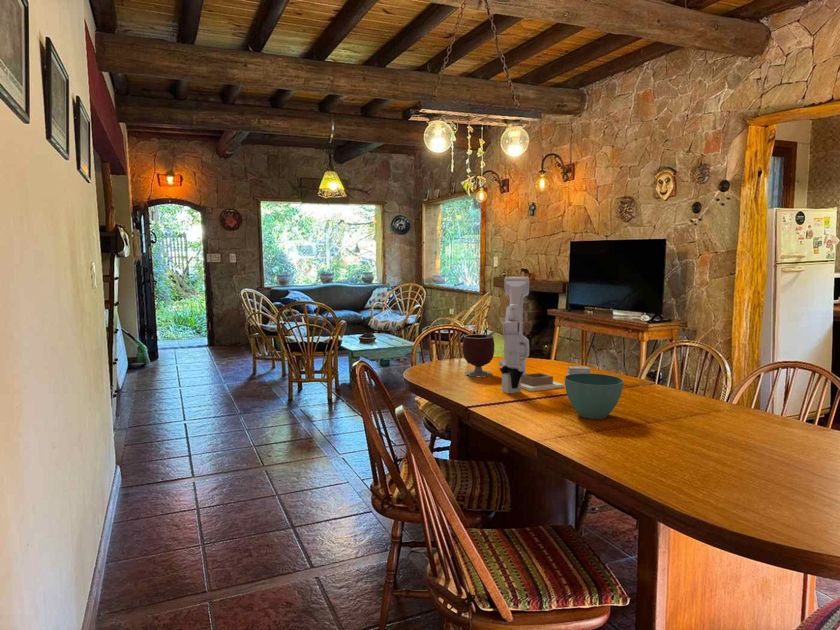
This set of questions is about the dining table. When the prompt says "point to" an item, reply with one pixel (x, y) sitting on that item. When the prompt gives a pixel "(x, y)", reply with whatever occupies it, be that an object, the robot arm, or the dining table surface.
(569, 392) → the teal bowl
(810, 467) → the dining table surface
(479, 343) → the mate gourd
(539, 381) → the slot stand
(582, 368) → the medicine box
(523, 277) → the robot arm
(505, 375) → the block
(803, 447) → the dining table surface
